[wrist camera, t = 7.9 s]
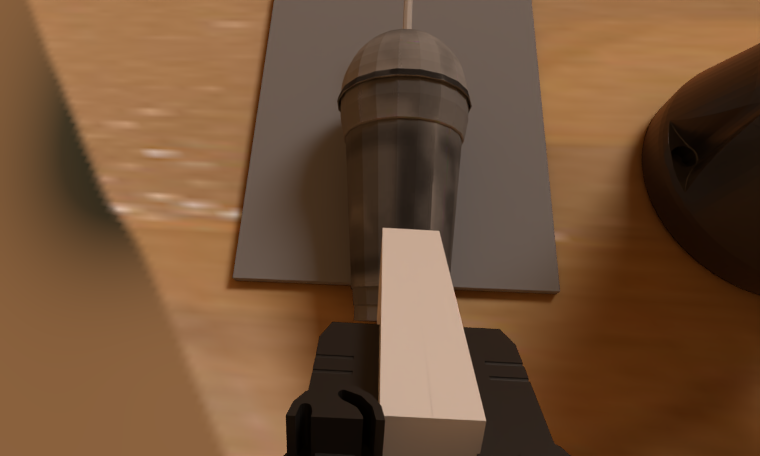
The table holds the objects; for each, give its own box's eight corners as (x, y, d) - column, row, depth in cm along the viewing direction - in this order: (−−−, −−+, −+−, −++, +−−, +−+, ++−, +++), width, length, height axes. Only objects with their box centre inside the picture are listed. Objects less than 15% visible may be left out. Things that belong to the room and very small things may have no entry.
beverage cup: (307, 317, 21) (331, -75, 25) (342, 320, 28) (356, 14, 32) (477, 323, 20) (474, -87, 24) (469, 324, 27) (468, 7, 31)
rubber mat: (287, -76, 37) (286, -83, 37) (522, -64, 37) (524, -71, 37) (235, 280, 27) (232, 277, 27) (556, 293, 27) (560, 291, 27)
